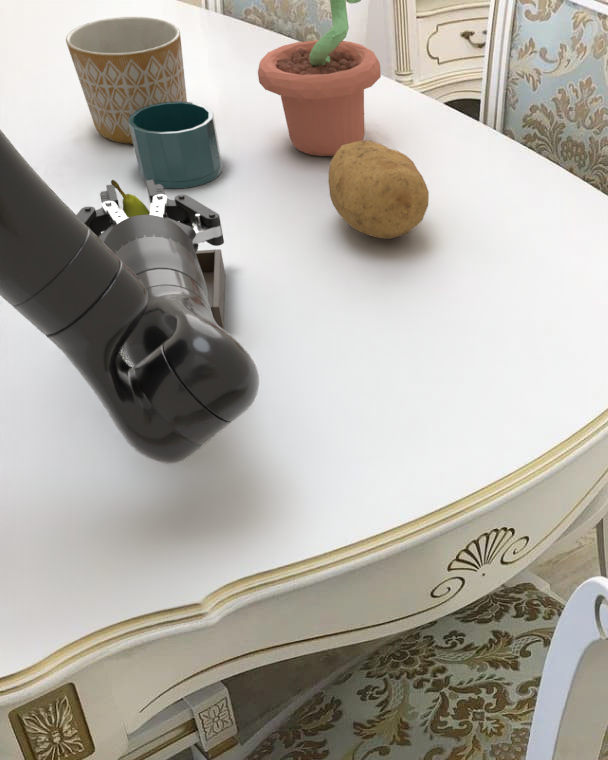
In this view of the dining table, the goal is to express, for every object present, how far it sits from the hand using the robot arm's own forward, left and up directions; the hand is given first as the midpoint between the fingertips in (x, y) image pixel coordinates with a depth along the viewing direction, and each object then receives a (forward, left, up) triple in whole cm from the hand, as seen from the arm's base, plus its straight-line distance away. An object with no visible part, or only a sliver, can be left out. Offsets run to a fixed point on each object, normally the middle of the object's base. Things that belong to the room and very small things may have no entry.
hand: (131, 193), depth 100 cm
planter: (-3, +40, -10) cm, 41 cm away
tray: (+1, -3, -10) cm, 10 cm away
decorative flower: (+19, +33, -10) cm, 39 cm away
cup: (+2, +27, -10) cm, 29 cm away
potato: (+23, +10, -10) cm, 27 cm away
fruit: (+1, -3, -9) cm, 10 cm away
